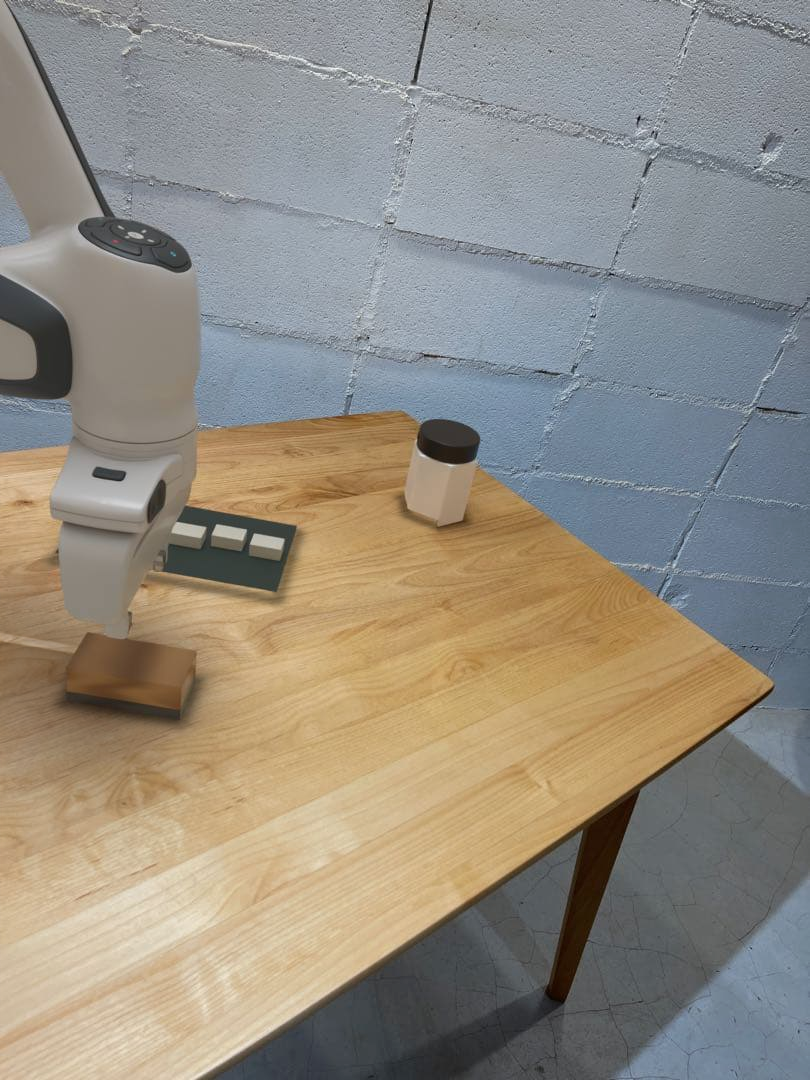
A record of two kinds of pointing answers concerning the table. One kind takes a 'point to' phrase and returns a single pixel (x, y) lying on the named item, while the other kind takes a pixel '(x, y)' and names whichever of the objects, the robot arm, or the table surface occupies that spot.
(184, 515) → the chalkboard
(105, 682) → the eraser
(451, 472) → the jar
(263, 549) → the white rectangular block
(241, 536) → the white rectangular block
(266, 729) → the table surface
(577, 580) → the table surface
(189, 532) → the white rectangular block
